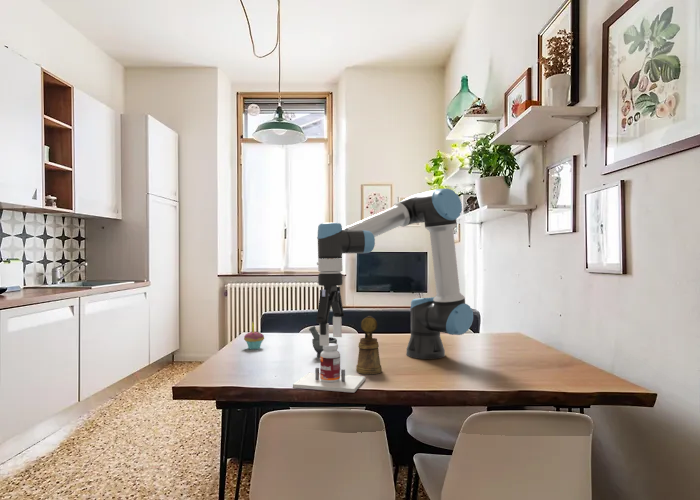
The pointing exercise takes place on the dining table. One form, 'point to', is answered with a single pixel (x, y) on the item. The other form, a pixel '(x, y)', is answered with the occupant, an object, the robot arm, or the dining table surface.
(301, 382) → the pin tray
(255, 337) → the cupcake
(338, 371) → the pill bottle
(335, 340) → the mortar and pestle
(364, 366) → the brown ball-topped piece
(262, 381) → the dining table surface
